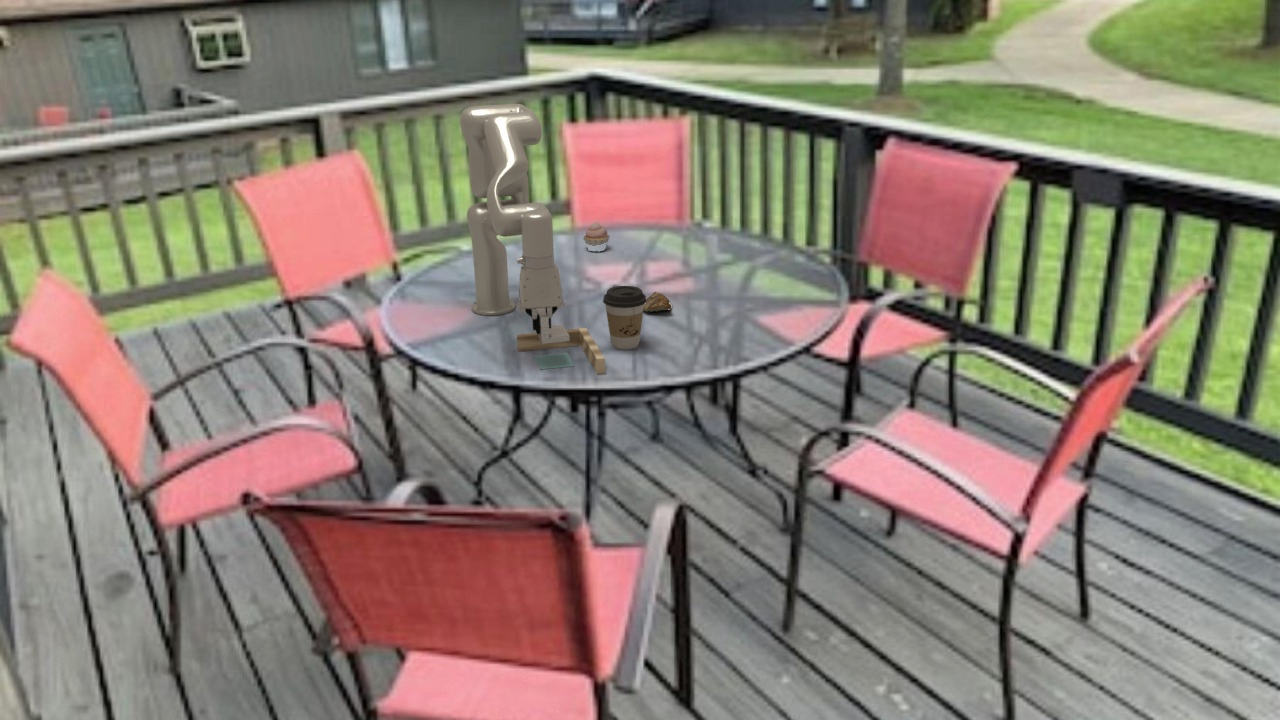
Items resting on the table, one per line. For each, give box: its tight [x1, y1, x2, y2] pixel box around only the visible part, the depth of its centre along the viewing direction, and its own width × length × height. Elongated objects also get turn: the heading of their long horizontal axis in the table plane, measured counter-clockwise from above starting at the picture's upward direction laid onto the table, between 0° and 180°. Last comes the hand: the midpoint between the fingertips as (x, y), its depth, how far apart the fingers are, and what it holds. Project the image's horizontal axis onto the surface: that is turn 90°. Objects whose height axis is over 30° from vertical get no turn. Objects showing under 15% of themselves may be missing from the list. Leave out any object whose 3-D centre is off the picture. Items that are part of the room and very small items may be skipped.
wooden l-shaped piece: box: [516, 327, 606, 375], centre depth 253 cm, size 22×18×4 cm
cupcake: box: [583, 221, 610, 246], centre depth 343 cm, size 9×9×10 cm
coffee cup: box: [602, 285, 647, 351], centre depth 261 cm, size 11×11×15 cm
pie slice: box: [643, 291, 672, 313], centre depth 289 cm, size 10×4×15 cm
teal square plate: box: [534, 352, 575, 371], centre depth 253 cm, size 9×8×1 cm
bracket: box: [537, 308, 569, 344], centre depth 249 cm, size 8×7×7 cm
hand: (542, 331), depth 249 cm, fingers closed on bracket
